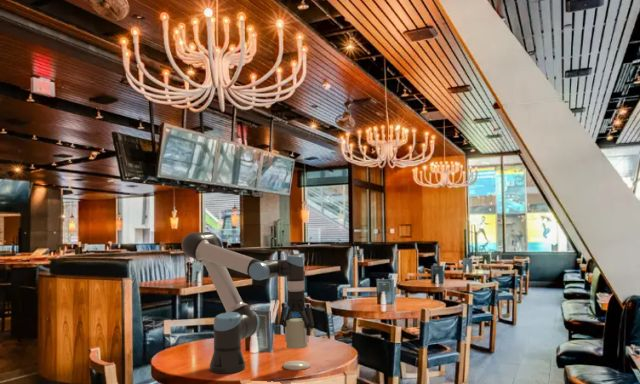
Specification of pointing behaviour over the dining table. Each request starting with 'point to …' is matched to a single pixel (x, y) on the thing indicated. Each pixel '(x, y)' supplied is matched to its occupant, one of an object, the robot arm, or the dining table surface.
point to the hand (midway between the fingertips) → (296, 342)
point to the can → (295, 333)
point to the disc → (296, 365)
